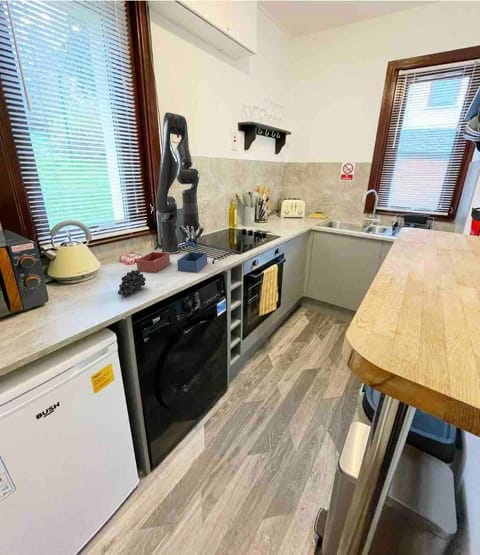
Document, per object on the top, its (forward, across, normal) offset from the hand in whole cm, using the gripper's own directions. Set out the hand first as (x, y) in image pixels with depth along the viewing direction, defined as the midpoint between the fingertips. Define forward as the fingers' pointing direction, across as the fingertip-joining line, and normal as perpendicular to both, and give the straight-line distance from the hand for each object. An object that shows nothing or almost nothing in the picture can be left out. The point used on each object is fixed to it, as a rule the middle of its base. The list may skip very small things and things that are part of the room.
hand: (192, 245), depth 141 cm
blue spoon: (0, 0, 0) cm, 1 cm away
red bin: (+11, +20, +6) cm, 24 cm away
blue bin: (+11, 0, +1) cm, 11 cm away
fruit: (+11, +13, +37) cm, 41 cm away
